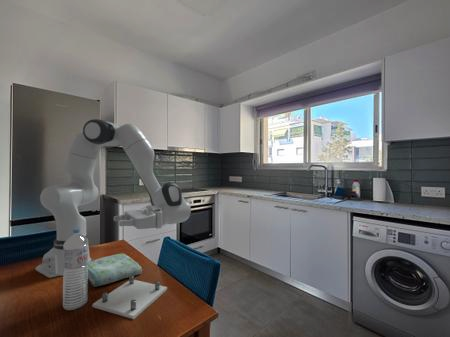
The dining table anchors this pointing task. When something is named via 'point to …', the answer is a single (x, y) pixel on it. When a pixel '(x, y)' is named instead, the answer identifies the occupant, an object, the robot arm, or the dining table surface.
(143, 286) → the bottle stand
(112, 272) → the towel
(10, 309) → the dining table surface
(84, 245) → the water bottle
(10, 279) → the dining table surface
